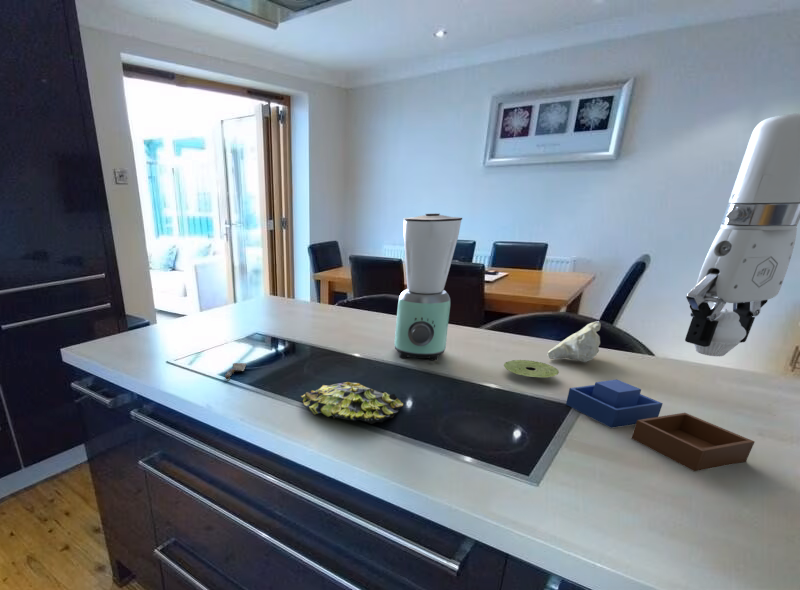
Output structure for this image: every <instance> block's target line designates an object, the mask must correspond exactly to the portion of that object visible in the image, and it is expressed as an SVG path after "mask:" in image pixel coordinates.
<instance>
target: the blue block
mask: <svg viewBox="0 0 800 590" xmlns="http://www.w3.org/2000/svg"><path fill="white" fill-rule="evenodd" d="M594 385H595V386H594V389H593V393H592V397H593V398H595V399H597V400H599V401H601V402H603V403H606V404H608V405H610V406H612V407H614V408H616V409H617V408H623V407H630V406H636V405H637V402H638V398H639V395H640V394H641V392H642V389H641V388H639V387H636V386H634V385H632V384H629V383H627V382H624V381H622V380H620V379H610V380H602V381H601V380H600V381H595V382H594Z"/></svg>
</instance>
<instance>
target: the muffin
mask: <svg viewBox="0 0 800 590" xmlns="http://www.w3.org/2000/svg"><path fill="white" fill-rule="evenodd" d="M739 319H740V317H739V315H738V314H737V313H735V312H733V310H728V309H727V308H725V309H722V310H721V312H720V313H719V315H718V316H717V317H716V319H715V320H716V321H719V322H718V324H717V327H716V330H715V333H714V335H713V338H712V341H711V344H710V346H707V347H703V346H699V345H696V344H693V345H694V349H695V351H696V352H697V353H698V354H700V355H704V356H709V357H724V356H725V355H727V354H728V353H729V352H731V351H732V350H733V349H734V348H735V347H737V346H738V345H739V344H740V341H741V340H742V339H743V338H744V337H745V336H746V330H745V329H744V328H743V327H742V326H741V323H740V322H739Z"/></svg>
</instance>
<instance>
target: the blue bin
mask: <svg viewBox="0 0 800 590" xmlns="http://www.w3.org/2000/svg"><path fill="white" fill-rule="evenodd" d="M594 386H595V384H591V385H584V386H583V385H582V386H575V387H570V388H568V389H569V390H568V394H567V398H566V402H565V405H566V406H567V407H570V408H572V409H574V410H575V411H577V412H579V413H581V414H583V415H585V416H587V417H588V418H590V419H592V420H595V421H597V422H598V423H600V424H602V425H604V426H606V427H608V428H610V429H615V428H621V427H627V426H633V425H636V422H637V420H641V419H647V418H654V417H660V416H659V415H660V413H661V410H662V407H663V402H660V401H658V400H656V399H653V398H651V397H649V396H645V395H643V394H642V393H640V395H639V398H638V402H637V405H636V406H630V407H623V408H617V409H616V408H614V407H612V406H610V405H608V404H606V403H603V402H601V401H599V400H597V399H595V398H593V397H592V393H593V389H594Z"/></svg>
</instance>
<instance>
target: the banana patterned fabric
mask: <svg viewBox="0 0 800 590" xmlns="http://www.w3.org/2000/svg"><path fill="white" fill-rule="evenodd" d="M300 397H301V398H302V399H303V400H302V403H303V406H305V407H306V408H307V409H308V410H309V411H310V412H311V413H312V414H313V415H314V416H315V415H318V414H323V415H324V416H326V417H327V418H329V417H331V416H332V417H333V419H335V418H336V419H341V420H346V421H362V422H366V423H368V424H375V423H383V422H385V421H388V420H389V419H393V418H394V417H395V415H397V414H398V413H399V412H400V410H401V409H402V407H403V406H404V403H403V402H402V401H401V400H400V399H399V398H398V397H397V395H396V394H395V393H391V394H389V393H387V391H386V392H384V391H383V390H382V391H381V390H376V389H373V388H370V387H367V386H365V385H363V384H361V383H359V382H350V381H346V382H339V383H334V384H330V385H325V384H322V386H320V387H319V388H318V389H316V390H313V389H311V391H306V392H305V393H304V394H303V395H300Z"/></svg>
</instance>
